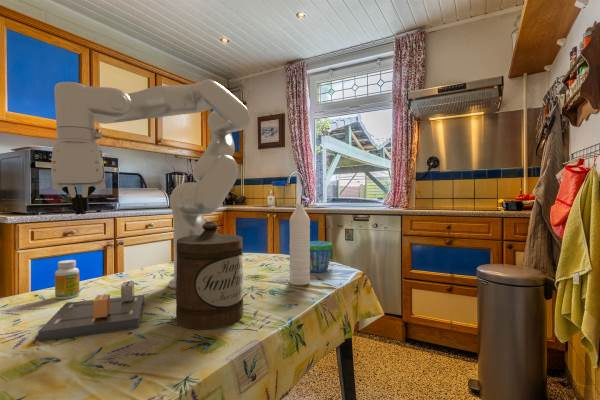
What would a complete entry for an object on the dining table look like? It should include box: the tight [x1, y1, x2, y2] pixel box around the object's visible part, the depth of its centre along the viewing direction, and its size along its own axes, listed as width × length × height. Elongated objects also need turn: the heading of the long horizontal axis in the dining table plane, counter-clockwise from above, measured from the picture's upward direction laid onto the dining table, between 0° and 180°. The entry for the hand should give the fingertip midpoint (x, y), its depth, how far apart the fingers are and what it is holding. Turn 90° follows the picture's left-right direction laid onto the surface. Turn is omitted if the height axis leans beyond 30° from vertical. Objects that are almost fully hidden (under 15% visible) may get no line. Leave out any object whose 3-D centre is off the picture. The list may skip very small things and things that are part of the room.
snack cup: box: [310, 240, 335, 274], centre depth 117 cm, size 16×10×10 cm
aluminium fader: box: [120, 280, 135, 301], centre depth 79 cm, size 2×4×4 cm, turn 22°
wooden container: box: [175, 221, 244, 330], centre depth 74 cm, size 15×15×22 cm
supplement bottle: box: [54, 259, 80, 300], centre depth 88 cm, size 5×5×10 cm
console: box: [38, 294, 145, 343], centre depth 72 cm, size 17×17×2 cm
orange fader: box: [93, 293, 111, 318], centre depth 69 cm, size 2×4×4 cm, turn 22°
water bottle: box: [289, 203, 317, 286], centre depth 101 cm, size 9×6×25 cm
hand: (81, 213), depth 77 cm, fingers closed
